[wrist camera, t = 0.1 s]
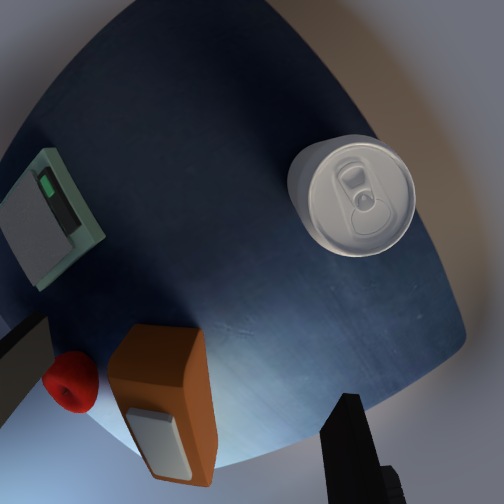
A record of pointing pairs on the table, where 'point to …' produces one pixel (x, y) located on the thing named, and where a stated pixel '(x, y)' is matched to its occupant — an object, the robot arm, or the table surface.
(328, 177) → the beverage can
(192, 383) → the alarm clock
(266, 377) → the table surface
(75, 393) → the apple
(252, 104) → the table surface
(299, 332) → the table surface
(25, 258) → the weighing plate
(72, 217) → the scale
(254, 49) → the table surface
